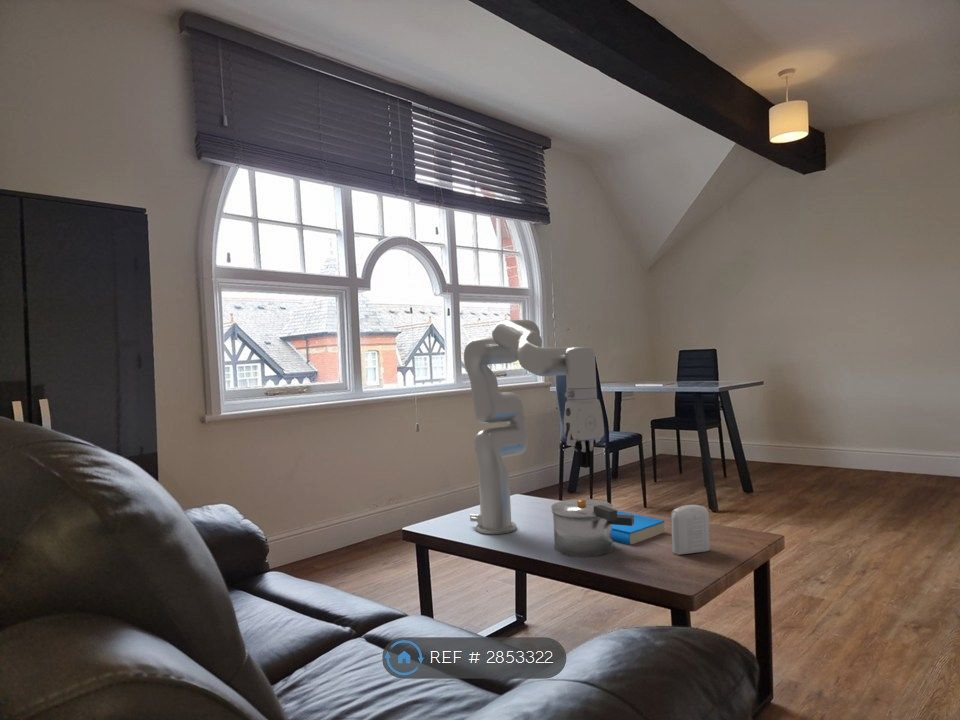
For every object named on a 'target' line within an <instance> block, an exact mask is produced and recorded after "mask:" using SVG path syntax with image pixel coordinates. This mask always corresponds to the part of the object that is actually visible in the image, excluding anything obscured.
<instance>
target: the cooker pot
mask: <svg viewBox="0 0 960 720" xmlns="http://www.w3.org/2000/svg"><path fill="white" fill-rule="evenodd" d="M552 515H553V517H552V518H553V538H554V539H553V540H554V542H553V543H554V544H553V545H554V550H555V551H556V552H557V551H558V552H557V553H559V552H560V553H559V554H561V553H562V555H564V554H565V555H564V556H569V555H570V557H576V556H577V557H578V558H579V557H581V558H589V557H598V556H604V555H606V554H609V553H611V552H612V551H613V549H614V543H613V542H614V541H613V536H612V524H613V525H626V526H632V525H633V524H634V516H632V515H618V514H617V520H612V521H608V520H606V519H603V518H600V517H597V518H586V519H578V518H566V517H561V516H557V515H555V514H553V513H552Z"/></svg>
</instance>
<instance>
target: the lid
mask: <svg viewBox="0 0 960 720" xmlns="http://www.w3.org/2000/svg"><path fill="white" fill-rule="evenodd" d="M617 511H618V509H614V507H613V504H612V503H610V502H608V501H604V500H598V499H587V498H584V499H583V498H582V499H581V498H580V499H577V498H576V499H575V498H574V499H568V500H562V501H557V502H554V503H553V504H552V505H551V513H552V515H553V514H555V515H557V516H561V517H566V518H578V519H586V518H597V517H600V518H603V519H606V520H608V521H612V520H617Z"/></svg>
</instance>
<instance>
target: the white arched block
mask: <svg viewBox="0 0 960 720" xmlns="http://www.w3.org/2000/svg"><path fill="white" fill-rule="evenodd" d="M709 514H710V513H709V511H708V508H707V507H706V506H703V505H698V504H686V505H682V506H679V507H677V508H674V509H673V510H672V511H671V513H670V522H671V525H670V527H671V529H670V530H671V549H672V553H673V554H675V555H679V556H680V555H687V554H688V555H689V554H695V553H704V552H709V551H710V550H711V547H710V546H711V545H710V544H711V543H710V515H709Z"/></svg>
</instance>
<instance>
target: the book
mask: <svg viewBox="0 0 960 720" xmlns="http://www.w3.org/2000/svg"><path fill="white" fill-rule="evenodd" d="M617 514H618V515H632V516H634V524H633V525H632V526H626V525H613V524H612V536H613V542H617V543H622V544H626V545H630V546H631V545H633V544H637V543H640V542H643V541H645V540H647V539H650V538H654V537H655V536H658V535H660V534H661V533H662V534H664V533H665V520H663V519H658V518H653V517H649V516H642V515H639V514H633V513H629V512H624V511H619V510H617Z"/></svg>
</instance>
